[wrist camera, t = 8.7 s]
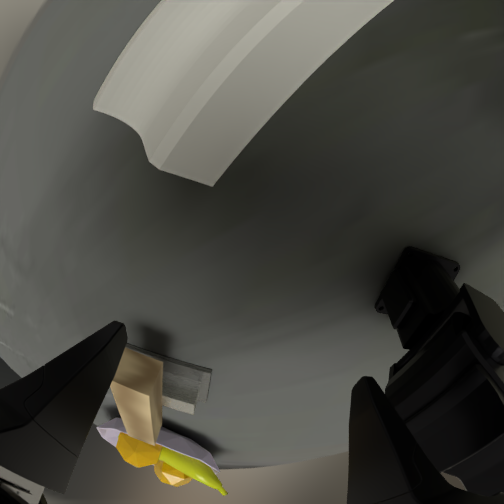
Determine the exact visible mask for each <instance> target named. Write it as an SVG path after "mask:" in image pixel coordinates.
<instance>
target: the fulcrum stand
mask: <svg viewBox="0 0 504 504" xmlns="http://www.w3.org/2000/svg"><path fill="white" fill-rule="evenodd" d="M126 348H128V349H131V350H133V351H135V352H138V353H140V354H143V355H146V356H148V357H151V358H153V359H156V360H159V361H162V362H163V381H162V405H163V406H166V407H170V408H173V409H176V410H179V411H183V412H186V413H190V414H194V411H195V408H196V404H197V401H201V402H205V403H206V401H207V396H208V390H209V384H210V378H211V372H212V369H208V368H204V367H200V366H196V365H193V364H189V363H186V362H182V361H179V360H175V359H172V358H169V357H166V356H162V355H159V354H156V353H153V352H150V351H147V350H144V349H141V348H139V347H136V346H133V345H130V344H128V343H127V344H126Z"/></svg>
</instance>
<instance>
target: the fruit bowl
mask: <svg viewBox="0 0 504 504" xmlns="http://www.w3.org/2000/svg"><path fill="white" fill-rule="evenodd" d="M97 429H98V431H99V433H100V434H101V436H102V438H104V439H105V440H106V441H108V442H110V443H111V444H112V445H114V446H115V447H116V448H117V449H118V451H119V452H120V454H121V455H122V457H123V459H124V460H125V461H126V462H128V463H130V464H131V465H133V466H135V467H137V468H139V467H143V466H148V465H154V470H155V473H156V475H157V476H158V478H159V479H160V481H161V482H164V483H166V484H170V485H172V486H175V487H178V486H181V485H184V484H187V483H189V482H190V481H191V480H192V479H195V480H197V481H199V482H201V483H203V484H205V485H207V486H210V487H212V488H214V489H218V490H219V492H220V493H221V494H222V495H223V496H225V495H227V494H228V493H227V492H226V491H225V490H224V488H223V487H222V484H221V482H220V481H219V480H218V478H217V476H216V474H217V473H219V472H220V470H219V469H218V467H217V465H216V463H215V461H214V459H213V457H212V455H211V453H210V452H209V451H207V450H206V449H204V448H203V447H201V446H200V445H199V444H197V443H196V442H194V441H193V440H192V439H190V438H187V437H185V436H182V435H180V434H177V433H175V432H173V431H171V430H168V429H166V428H164V427H162V426H161V429H160V432H159V435H158V438H157V441H156V444H155V446H154V445H151V444H148V443H146V442H143V441H140V440H138V439H135V438H133V437H130V436H128V433H127V431H126V428H125V426H124V423H123V421H122V418H117V417H116V418H114V419H112V420H110V421H108V422H106V423H104V424H102V425H100V426H98V427H97Z"/></svg>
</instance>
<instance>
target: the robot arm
mask: <svg viewBox="0 0 504 504" xmlns="http://www.w3.org/2000/svg"><path fill="white" fill-rule="evenodd" d="M409 252H411V254H410V255H408V253H409ZM455 267H456V268H455ZM454 268H455V269H454ZM459 270H460V265H459V264H458V263H457V262H455V261H452V260H449V259H446V258H443V257H440V256H437V255H435V254H432V253H429V252H426V251H423V250H419V249H416V248H413V247H407V248H406V249H405V250H404V251H403V254H402V256H401V258H400V260H399V262H398V264H397V266H396V268H395V269H394V270H393V272H392V274H391V275H390V277H389V279H388V281H387V283H386V285H385V287H384V289H383V290H382V292H381V296H380V297H379V299H378V301H377V303H376V304H375V309H376V311H377V312H379V313H384V314H388V315H389V318H390V320H391V323H392V326H393V328H394V329H397V332H398V334H399V337H400V340H401V343H402V346H403V348H404V349H409V351H408V352H407V353H406V354H405V355H404V356H403V357H402V358H401V359H400V360H399V361H398V362H397V363H395V364H393V365H392V366H391V367H390V372H389V381H388V384H387V386H386V388H385V394H384V392H383V391H382V389H381V388H380V386H379V385H378V384H377V382H376V381H375V379H374V378H373V377H369V376H363V377H362V378H361V379H360V380H359V381H358V382H357V383H356V384H355V386H354V387H353V389H352V393H351V407H350V418H349V473H348V493H347V504H504V312H503V311H502V310H501V308H500V307H499V306H498V305H497V303H496V302H495V301H494V300H493V299H491V298H489V297H488V296H486V295H484V294H483V293H481V292H479V291H478V290H476V289H474V288H472V287H471V286H469V285H467V284H465V283H464V284H463V285H462V287H461V288H460V289H459V288H458V286H457V285H456V284H455V282H454V279H455V277H456V275H457V274H458V272H459ZM380 306H382V307H380ZM379 307H380V308H379ZM126 344H127V332H126V327H125V325H124V324H123V323H121V322H118V321H113V322H111V323H110V324H108V325H106V326H105V327H103V328H102V329H100V330H98V331H97V332H95V333H94V334H92V335H91V336H89V337H87V338H86V339H84V340H83V341H81V342H79V343H78V344H76V345H75V346H73V347H72V348H70V349H68V350H67V351H65V352H64V353H62V354H61V355H59V356H57V357H56V358H54V359H53V360H51V361H50V362H48V363H46V364H45V366H42V367H40V368H39V369H37V370H35V371H34V372H32V373H30V374H29V375H27V376H25V377H23V378H21V379H20V380H18V381H16V382H14V383H12V384H9V385H7V386H5V387H3V388H1V389H0V504H47V502H46V499H45V497H44V495H43V490H44V487H46V488H48V489H51V490H53V491H56V492H59V493H62V494H64V493H65V492H66V489H67V486H68V483H69V480H70V478H71V475H72V472H73V470H74V467H75V464H76V462H77V459H78V457H79V454H80V452H81V449H82V447H83V445H84V442H85V440H86V437H87V435H88V433H89V431H90V428H91V426H92V424H93V421H94V419H95V417H96V415H97V413H98V410H99V408H100V406H101V404H102V402H103V400H104V398H105V395H106V393H107V391H108V389H109V387H110V385H111V383H112V381H113V379H114V377H115V374H116V371H117V369H118V366H119V363H120V360H121V357H122V355H123V352H124V349H125V347H126ZM441 472H444V473H447V474H449V475H452V476H455V477H457V478H458V479H459V480H460V481H461V483H462V484H463V486H464V488H465V490H466V491H465V490H461V489H459V488H456V487H454V486H452V485H451V484H449V483H448V482H447V481H446V480H445V478H444V477H443V476H442V475H441V474H440V473H441Z"/></svg>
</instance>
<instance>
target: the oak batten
mask: <svg viewBox="0 0 504 504" xmlns="http://www.w3.org/2000/svg"><path fill="white" fill-rule="evenodd" d="M162 381H163V362H162V361H159V360H156V359H153V358H151V357H148V356H146V355H143V354H140V353H138V352H135V351H133V350H131V349H128V348H126V347H125V349H124V352H123V355H122V357H121V360H120V363H119V366H118V369H117V371H116V374H115V377H114V379H113V381H112V383H111V385H110V387H111V390H112V393H113V396H114V399H115V402H116V405H117V407H118V410H119V413H120V416H121V418H122V421H123V423H124V426H125V428H126V431H127V433H128V436H130V437H133V438H135V439H138V440H140V441H143V442H146V443H148V444H151V445H154V446H155V444H156V441H157V438H158V435H159V432H160V429H161V426H162Z"/></svg>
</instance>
